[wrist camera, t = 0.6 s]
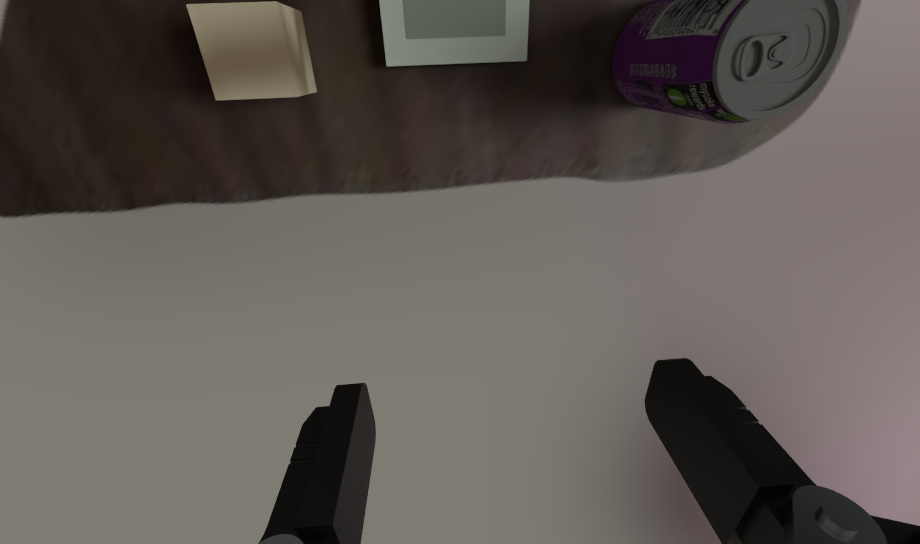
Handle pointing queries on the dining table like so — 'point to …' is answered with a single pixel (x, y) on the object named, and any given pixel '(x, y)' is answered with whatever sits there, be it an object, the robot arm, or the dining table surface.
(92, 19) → the dining table surface
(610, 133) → the dining table surface
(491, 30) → the plate
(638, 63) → the beverage can
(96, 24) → the dining table surface
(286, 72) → the beech cube
